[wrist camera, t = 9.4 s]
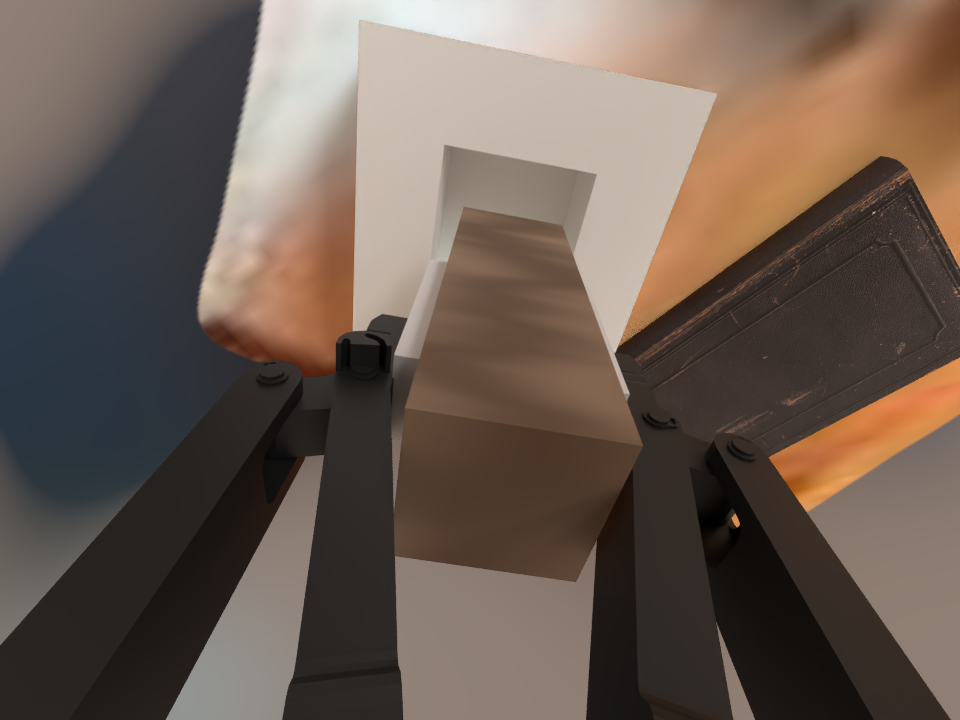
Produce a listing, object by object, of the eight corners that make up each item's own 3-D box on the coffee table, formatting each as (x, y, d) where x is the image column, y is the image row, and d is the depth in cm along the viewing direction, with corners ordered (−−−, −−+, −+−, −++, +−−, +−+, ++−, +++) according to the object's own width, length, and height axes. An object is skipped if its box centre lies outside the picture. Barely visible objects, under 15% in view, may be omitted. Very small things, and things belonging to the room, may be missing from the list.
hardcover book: (968, 322, 33) (997, 338, 31) (685, 476, 42) (694, 496, 40) (875, 153, 27) (903, 159, 25) (573, 374, 37) (577, 391, 35)
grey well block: (675, 87, 25) (717, 93, 20) (589, 333, 34) (604, 380, 29) (389, 28, 25) (359, 19, 20) (375, 296, 33) (352, 337, 28)
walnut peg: (562, 225, 20) (643, 445, 8) (538, 313, 23) (576, 582, 11) (463, 206, 20) (405, 407, 8) (450, 297, 22) (389, 555, 11)
